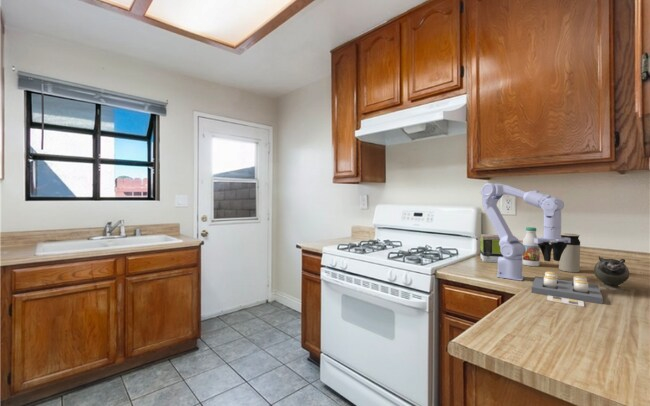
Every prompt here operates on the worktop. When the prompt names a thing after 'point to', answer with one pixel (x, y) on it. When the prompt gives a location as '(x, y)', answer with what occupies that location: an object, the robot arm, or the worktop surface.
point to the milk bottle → (531, 248)
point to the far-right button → (579, 278)
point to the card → (565, 301)
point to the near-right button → (581, 286)
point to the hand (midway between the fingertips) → (551, 260)
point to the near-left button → (550, 281)
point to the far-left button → (551, 274)
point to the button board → (567, 290)
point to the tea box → (490, 248)
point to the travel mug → (570, 254)
